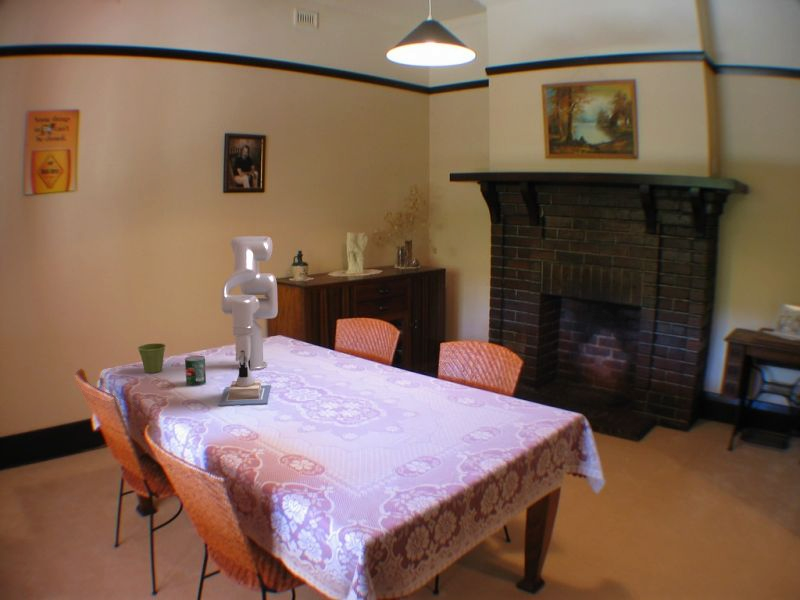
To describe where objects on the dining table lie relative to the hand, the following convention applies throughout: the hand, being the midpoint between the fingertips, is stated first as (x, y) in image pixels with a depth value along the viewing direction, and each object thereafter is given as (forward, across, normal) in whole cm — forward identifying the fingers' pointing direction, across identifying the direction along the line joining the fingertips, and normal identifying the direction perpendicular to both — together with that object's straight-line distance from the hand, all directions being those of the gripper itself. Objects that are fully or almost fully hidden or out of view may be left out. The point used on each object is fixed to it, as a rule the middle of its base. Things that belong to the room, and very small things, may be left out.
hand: (244, 373), depth 251 cm
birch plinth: (+9, 0, 0) cm, 9 cm away
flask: (+5, 0, 0) cm, 5 cm away
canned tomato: (+9, -19, -22) cm, 31 cm away
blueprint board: (+9, 0, 0) cm, 9 cm away
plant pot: (+9, -40, -44) cm, 60 cm away
